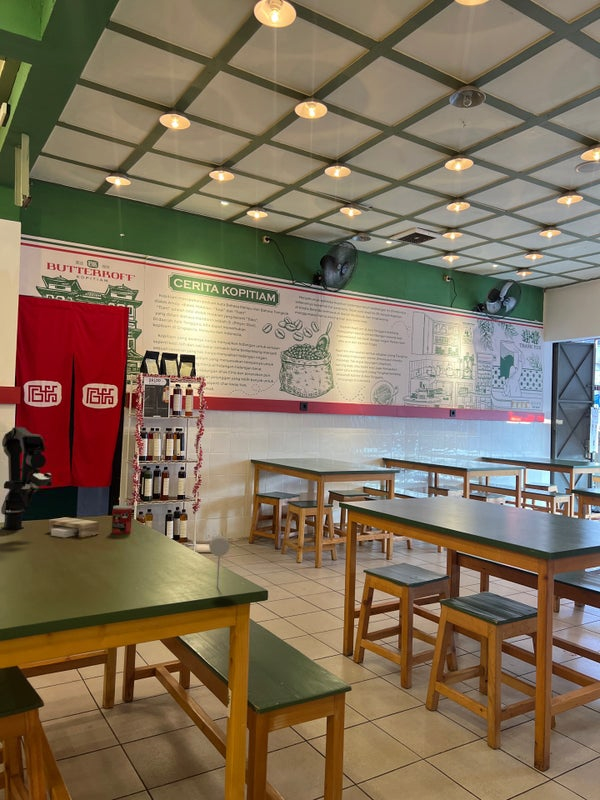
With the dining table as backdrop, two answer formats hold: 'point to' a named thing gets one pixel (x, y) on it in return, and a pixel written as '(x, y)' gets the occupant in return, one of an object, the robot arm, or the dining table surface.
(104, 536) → the dining table surface
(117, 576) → the dining table surface
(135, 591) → the dining table surface
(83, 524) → the oak shelf
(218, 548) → the lollipop
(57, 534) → the flat white block
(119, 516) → the canned food
